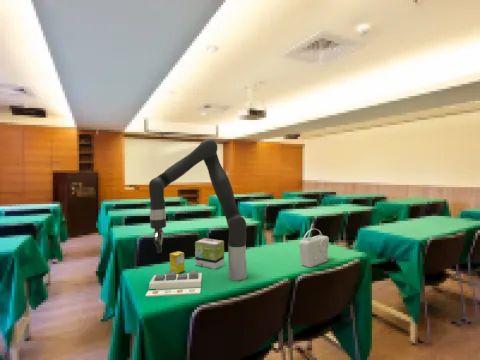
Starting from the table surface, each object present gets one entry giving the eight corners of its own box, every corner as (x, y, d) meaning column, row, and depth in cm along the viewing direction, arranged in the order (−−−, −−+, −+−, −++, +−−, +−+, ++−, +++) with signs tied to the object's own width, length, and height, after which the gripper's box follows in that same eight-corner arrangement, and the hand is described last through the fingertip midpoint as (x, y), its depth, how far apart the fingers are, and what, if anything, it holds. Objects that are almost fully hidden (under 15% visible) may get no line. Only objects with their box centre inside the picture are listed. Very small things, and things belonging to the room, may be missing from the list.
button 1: (198, 276, 141) (198, 270, 140) (197, 279, 136) (197, 273, 136) (189, 277, 140) (189, 271, 140) (189, 280, 136) (188, 274, 136)
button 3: (176, 277, 140) (175, 271, 139) (174, 280, 135) (174, 274, 135) (167, 278, 139) (167, 272, 139) (166, 281, 135) (166, 275, 135)
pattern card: (200, 288, 131) (200, 287, 131) (200, 293, 126) (200, 292, 126) (148, 291, 129) (148, 290, 129) (145, 296, 124) (145, 295, 124)
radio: (310, 269, 154) (309, 225, 154) (298, 266, 161) (298, 223, 160) (331, 261, 168) (331, 221, 167) (320, 258, 175) (319, 219, 174)
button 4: (164, 280, 139) (164, 274, 139) (163, 283, 135) (163, 277, 135) (156, 281, 139) (156, 275, 139) (154, 284, 135) (154, 278, 134)
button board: (202, 278, 144) (201, 272, 144) (200, 287, 133) (200, 281, 133) (154, 280, 142) (154, 275, 142) (149, 289, 131) (149, 283, 131)
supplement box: (178, 269, 158) (177, 250, 158) (185, 271, 154) (184, 252, 154) (169, 272, 153) (169, 253, 153) (176, 275, 150) (176, 255, 149)
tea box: (194, 265, 164) (194, 241, 164) (204, 260, 173) (204, 237, 173) (215, 269, 157) (215, 244, 157) (224, 264, 166) (224, 240, 166)
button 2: (187, 279, 140) (187, 273, 140) (186, 282, 136) (186, 276, 136) (178, 279, 140) (178, 274, 140) (177, 283, 136) (177, 277, 135)
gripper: (163, 220, 130) (164, 256, 130) (168, 215, 143) (169, 248, 143) (147, 220, 129) (148, 256, 129) (153, 216, 142) (154, 249, 143)
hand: (159, 252), depth 136 cm, fingers closed
